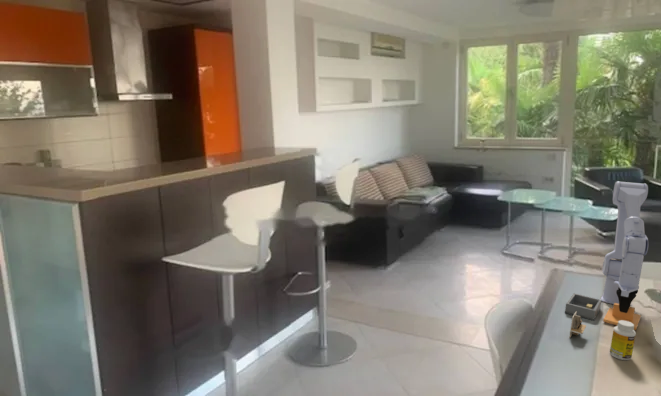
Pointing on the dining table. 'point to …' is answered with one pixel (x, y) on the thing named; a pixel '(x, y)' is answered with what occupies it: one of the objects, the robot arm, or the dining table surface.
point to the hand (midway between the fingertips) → (623, 310)
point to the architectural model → (576, 325)
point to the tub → (583, 306)
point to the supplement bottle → (623, 340)
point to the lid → (621, 316)
